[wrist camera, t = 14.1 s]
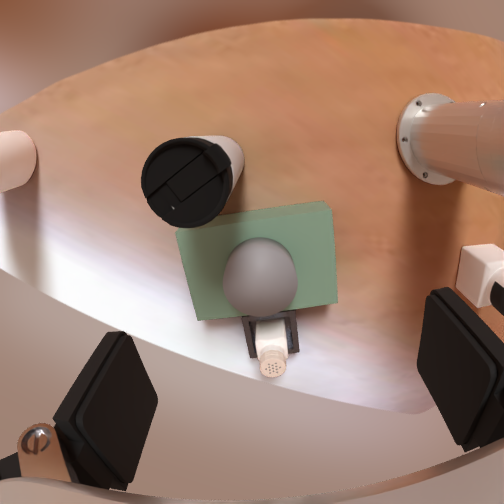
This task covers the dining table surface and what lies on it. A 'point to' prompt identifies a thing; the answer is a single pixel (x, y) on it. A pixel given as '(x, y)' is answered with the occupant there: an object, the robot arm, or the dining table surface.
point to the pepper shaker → (271, 346)
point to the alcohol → (16, 159)
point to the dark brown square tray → (288, 315)
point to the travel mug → (191, 178)
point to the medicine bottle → (482, 275)
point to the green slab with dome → (261, 261)
